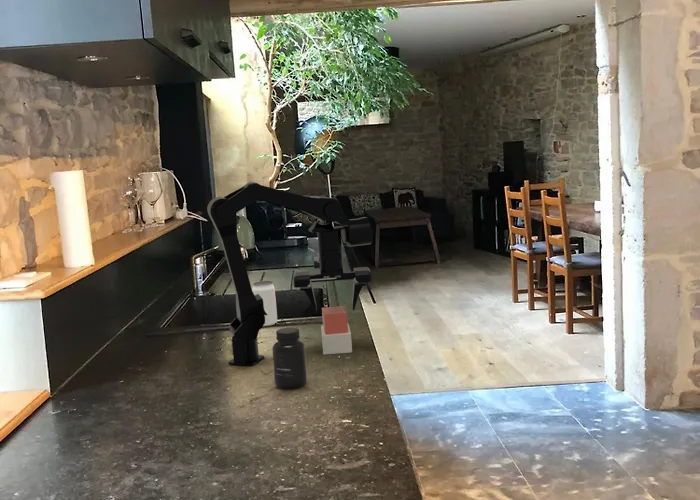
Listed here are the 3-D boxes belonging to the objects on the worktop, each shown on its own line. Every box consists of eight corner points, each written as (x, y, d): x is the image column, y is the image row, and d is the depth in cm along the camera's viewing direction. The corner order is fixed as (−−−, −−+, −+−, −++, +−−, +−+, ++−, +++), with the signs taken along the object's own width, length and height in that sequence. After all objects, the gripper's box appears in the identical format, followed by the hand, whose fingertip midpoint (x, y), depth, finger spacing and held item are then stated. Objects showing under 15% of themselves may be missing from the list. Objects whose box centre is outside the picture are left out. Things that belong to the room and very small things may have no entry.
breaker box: (352, 352, 166) (350, 334, 166) (323, 354, 166) (321, 336, 165) (349, 340, 176) (348, 323, 176) (322, 342, 176) (321, 325, 175)
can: (250, 325, 197) (246, 284, 195) (263, 320, 203) (259, 280, 201) (269, 327, 194) (265, 285, 192) (281, 321, 200) (278, 280, 198)
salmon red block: (348, 332, 167) (346, 312, 167) (325, 334, 167) (324, 314, 166) (344, 325, 174) (343, 305, 173) (323, 327, 174) (321, 307, 173)
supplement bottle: (278, 392, 143) (273, 336, 141) (272, 382, 149) (268, 328, 147) (310, 387, 145) (306, 331, 143) (303, 377, 151) (299, 324, 149)
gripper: (365, 241, 176) (369, 301, 178) (292, 246, 175) (297, 306, 177) (369, 247, 165) (373, 311, 167) (291, 253, 164) (296, 317, 166)
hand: (334, 311), depth 170 cm, fingers open, 9 cm apart
